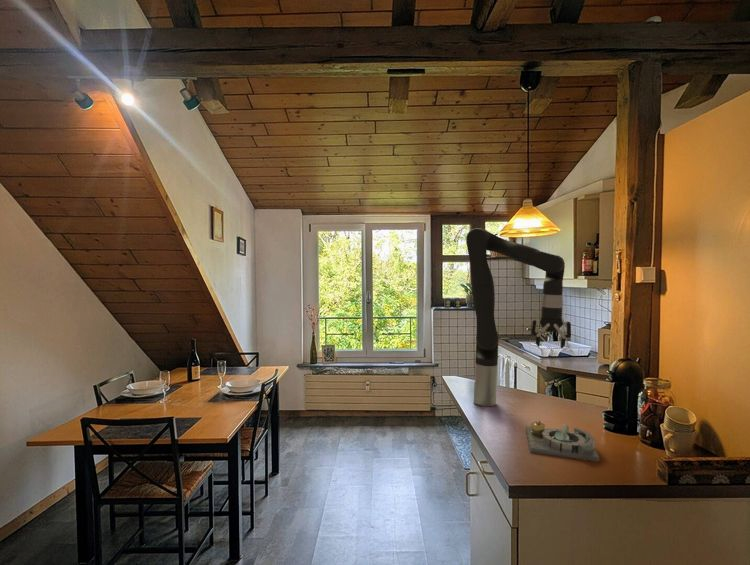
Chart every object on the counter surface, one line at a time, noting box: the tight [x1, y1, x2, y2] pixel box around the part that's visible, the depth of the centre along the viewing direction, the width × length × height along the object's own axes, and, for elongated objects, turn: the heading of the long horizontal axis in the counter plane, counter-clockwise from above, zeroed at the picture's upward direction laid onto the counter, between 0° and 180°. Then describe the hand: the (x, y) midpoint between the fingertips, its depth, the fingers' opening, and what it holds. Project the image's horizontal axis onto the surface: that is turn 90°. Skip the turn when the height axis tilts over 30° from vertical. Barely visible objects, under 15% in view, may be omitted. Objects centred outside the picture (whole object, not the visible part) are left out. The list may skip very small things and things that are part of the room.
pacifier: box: [552, 423, 573, 442], centre depth 137 cm, size 7×6×6 cm
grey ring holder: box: [525, 420, 600, 463], centre depth 138 cm, size 20×18×6 cm
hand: (550, 346), depth 162 cm, fingers open, 8 cm apart
